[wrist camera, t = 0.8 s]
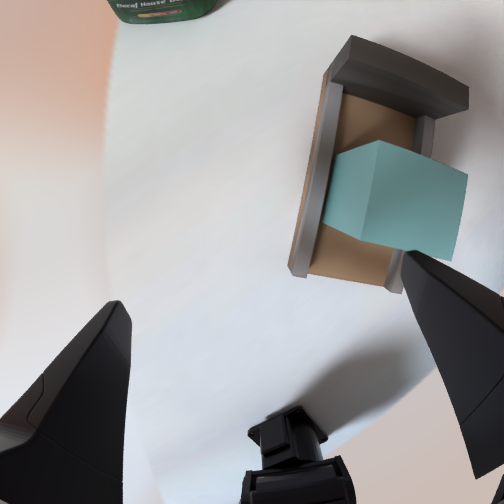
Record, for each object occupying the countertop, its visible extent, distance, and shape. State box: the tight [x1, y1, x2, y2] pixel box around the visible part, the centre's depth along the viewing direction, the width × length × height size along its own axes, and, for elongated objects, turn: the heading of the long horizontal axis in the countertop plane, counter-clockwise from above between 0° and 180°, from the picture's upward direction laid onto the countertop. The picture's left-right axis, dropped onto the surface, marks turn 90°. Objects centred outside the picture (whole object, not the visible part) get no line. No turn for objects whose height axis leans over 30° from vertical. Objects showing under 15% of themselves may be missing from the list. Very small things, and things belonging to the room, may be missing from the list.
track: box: [287, 35, 469, 294], centre depth 19 cm, size 16×9×8 cm, turn 169°
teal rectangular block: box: [322, 140, 468, 261], centre depth 18 cm, size 5×6×8 cm
